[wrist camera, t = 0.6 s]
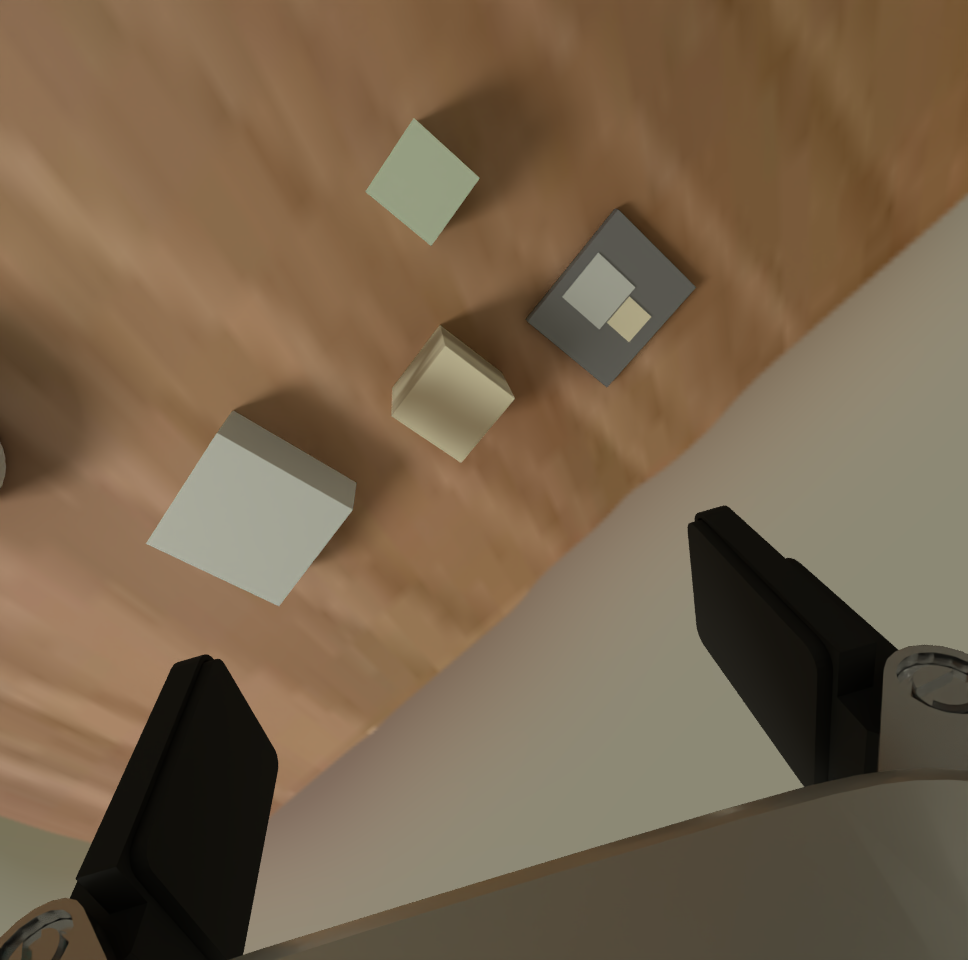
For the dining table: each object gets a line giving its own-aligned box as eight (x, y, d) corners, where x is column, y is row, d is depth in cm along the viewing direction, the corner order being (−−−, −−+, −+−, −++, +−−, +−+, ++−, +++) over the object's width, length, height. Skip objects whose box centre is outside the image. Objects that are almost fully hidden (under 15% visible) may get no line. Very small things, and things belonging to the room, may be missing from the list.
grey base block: (234, 408, 37) (217, 432, 34) (356, 480, 41) (352, 509, 37) (168, 511, 40) (146, 543, 37) (288, 571, 43) (278, 606, 40)
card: (614, 208, 35) (618, 209, 34) (691, 285, 37) (696, 287, 37) (525, 319, 37) (527, 322, 36) (604, 384, 39) (607, 387, 39)
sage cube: (412, 124, 31) (413, 117, 28) (471, 177, 33) (479, 178, 29) (368, 189, 33) (365, 191, 29) (427, 238, 34) (431, 245, 31)
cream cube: (439, 324, 36) (445, 345, 32) (501, 372, 38) (515, 398, 34) (392, 387, 38) (391, 415, 33) (454, 430, 40) (461, 462, 35)
